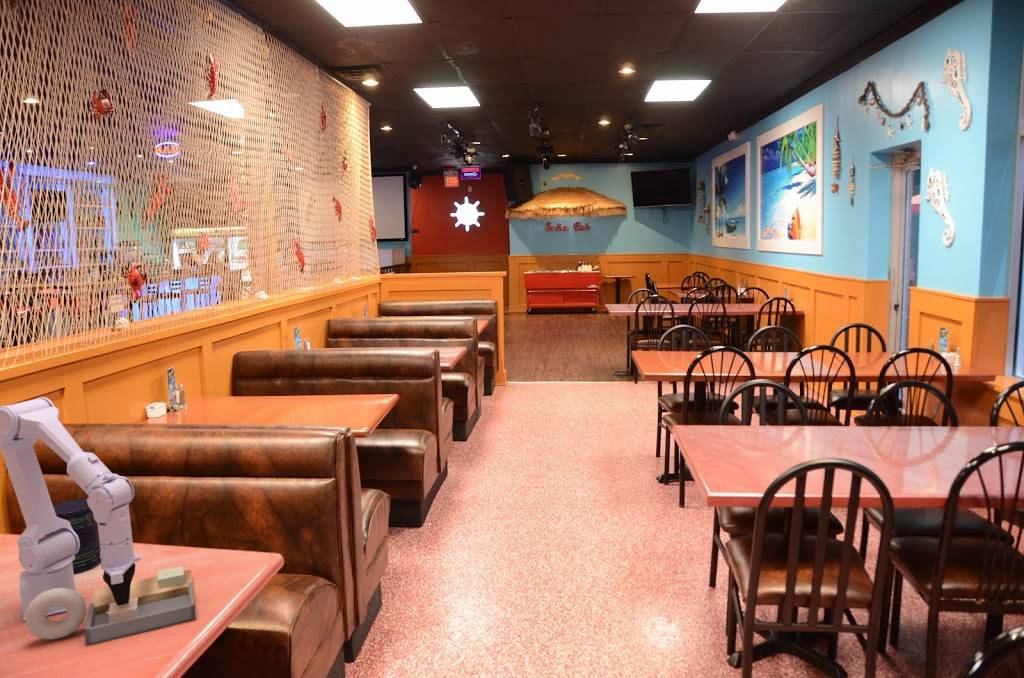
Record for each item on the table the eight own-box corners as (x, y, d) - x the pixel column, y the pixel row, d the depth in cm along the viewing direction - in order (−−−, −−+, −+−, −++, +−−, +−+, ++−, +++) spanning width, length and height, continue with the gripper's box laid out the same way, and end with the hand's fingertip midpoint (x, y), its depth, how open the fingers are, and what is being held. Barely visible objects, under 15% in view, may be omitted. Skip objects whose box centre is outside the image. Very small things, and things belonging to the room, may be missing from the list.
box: (86, 645, 134) (84, 630, 134) (91, 617, 145) (89, 604, 144) (196, 619, 142) (194, 605, 142) (193, 595, 153) (192, 581, 152)
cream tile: (109, 624, 141) (108, 614, 141) (111, 612, 146) (109, 603, 145) (137, 617, 143) (136, 608, 143) (138, 606, 148) (137, 597, 147)
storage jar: (49, 579, 163) (42, 516, 161) (57, 562, 172) (50, 503, 170) (99, 570, 167) (92, 508, 165) (104, 554, 176) (97, 495, 174)
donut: (27, 649, 134) (20, 599, 132) (29, 640, 137) (23, 591, 135) (88, 635, 138) (82, 586, 137) (89, 626, 141) (84, 579, 140)
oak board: (91, 617, 145) (90, 607, 145) (95, 598, 153) (94, 589, 153) (193, 594, 153) (192, 585, 153) (191, 577, 161) (190, 569, 161)
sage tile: (159, 588, 152) (158, 580, 152) (158, 579, 156) (158, 570, 156) (184, 583, 154) (183, 574, 154) (183, 574, 158) (183, 565, 158)
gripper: (137, 547, 138) (144, 613, 140) (139, 523, 151) (145, 583, 153) (95, 556, 135) (103, 623, 137) (101, 530, 148) (108, 591, 150)
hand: (123, 603), depth 144 cm, fingers closed
